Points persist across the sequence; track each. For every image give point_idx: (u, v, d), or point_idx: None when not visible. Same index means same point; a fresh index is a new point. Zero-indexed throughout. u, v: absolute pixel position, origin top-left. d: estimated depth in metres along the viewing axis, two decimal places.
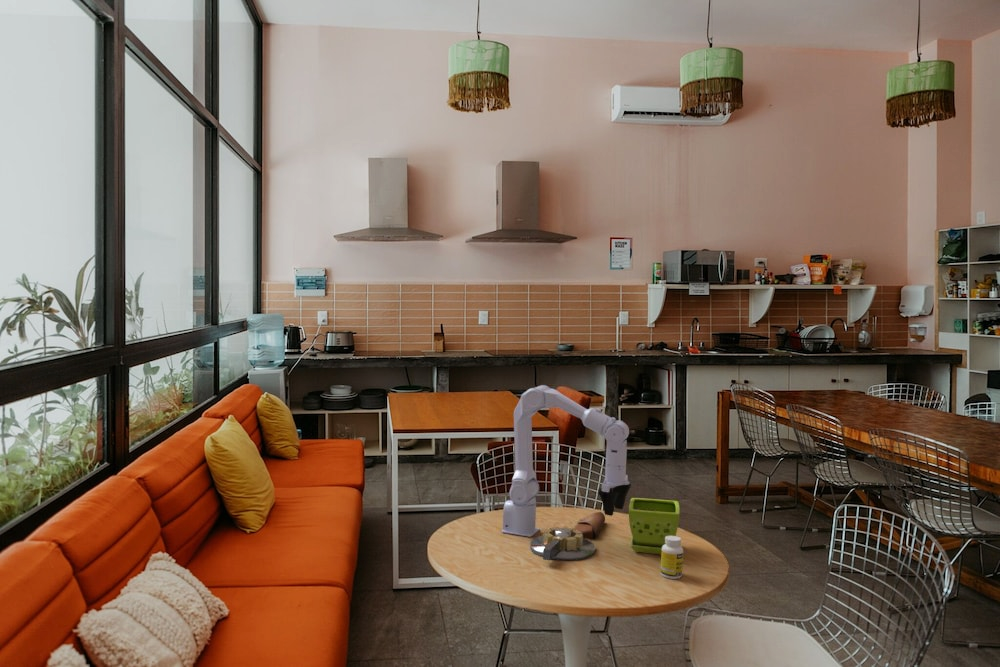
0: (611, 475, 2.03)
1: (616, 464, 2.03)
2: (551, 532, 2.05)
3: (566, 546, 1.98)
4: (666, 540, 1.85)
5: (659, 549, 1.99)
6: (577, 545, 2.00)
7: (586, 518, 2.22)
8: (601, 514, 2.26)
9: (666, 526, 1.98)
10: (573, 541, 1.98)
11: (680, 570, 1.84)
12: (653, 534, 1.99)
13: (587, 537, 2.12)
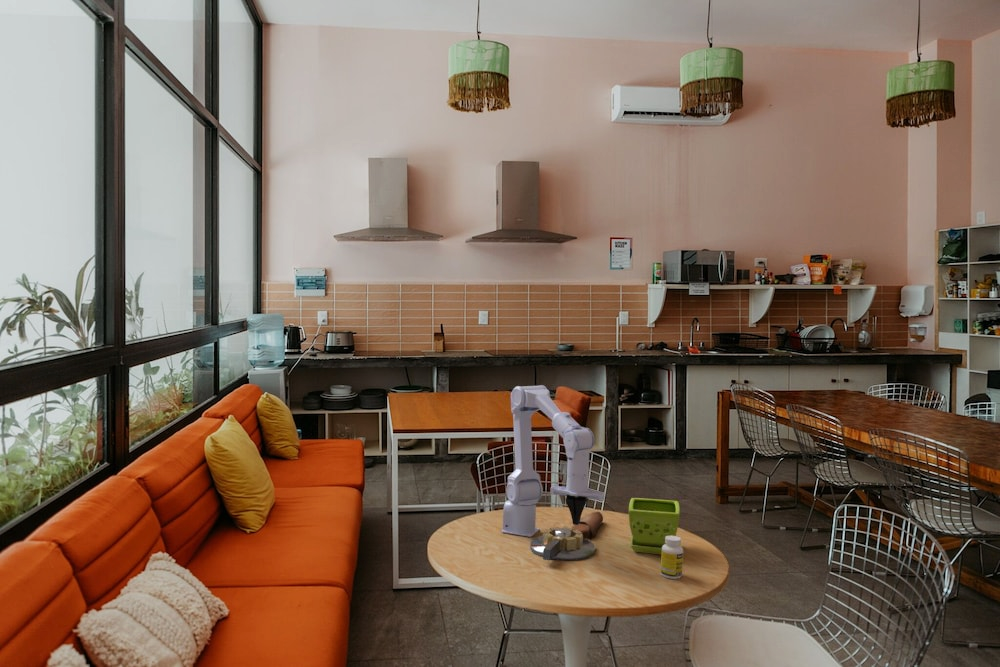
0: None
1: (571, 473, 1.92)
2: (551, 532, 2.05)
3: (566, 546, 1.98)
4: (666, 540, 1.85)
5: (659, 549, 1.99)
6: (577, 545, 2.00)
7: (584, 518, 2.22)
8: (599, 514, 2.27)
9: (666, 526, 1.98)
10: (573, 541, 1.98)
11: (680, 570, 1.84)
12: (653, 534, 1.99)
13: (584, 537, 2.13)
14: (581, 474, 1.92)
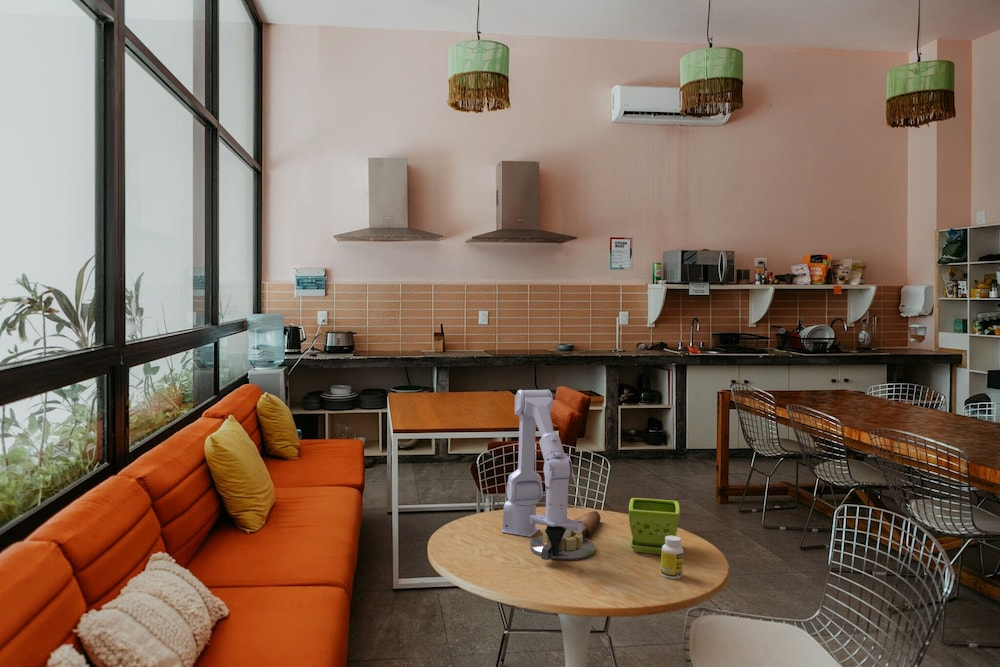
0: None
1: (548, 502, 1.90)
2: None
3: (565, 546, 1.98)
4: (666, 540, 1.85)
5: (659, 549, 1.99)
6: (577, 545, 2.00)
7: (581, 517, 2.23)
8: (596, 513, 2.27)
9: (666, 526, 1.98)
10: (573, 541, 1.98)
11: (680, 570, 1.84)
12: (653, 534, 1.99)
13: None
14: (557, 504, 1.89)
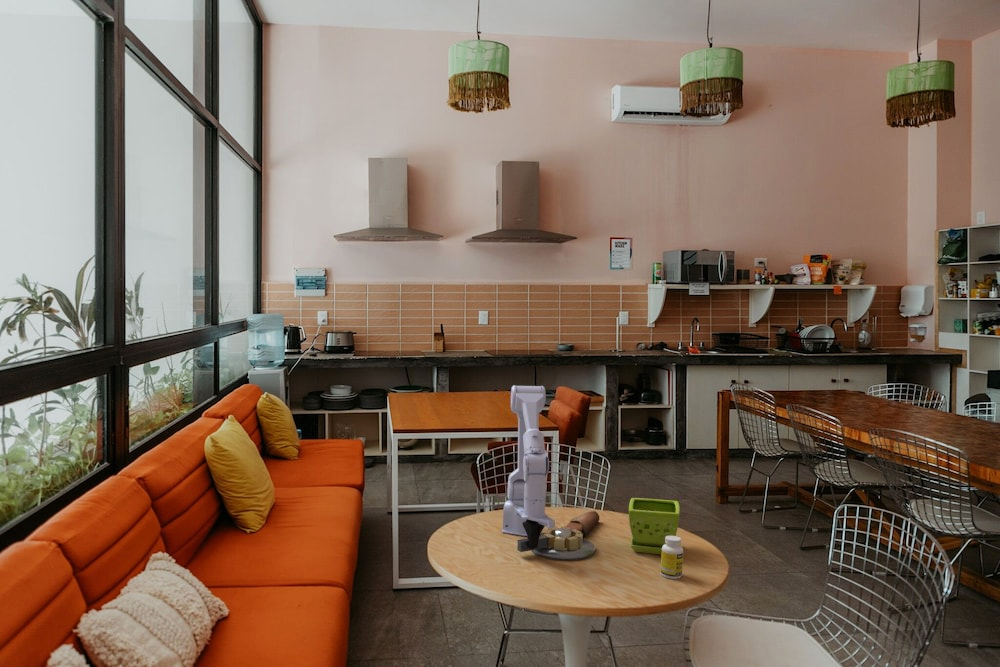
0: None
1: (525, 496, 1.94)
2: None
3: None
4: (666, 540, 1.85)
5: (659, 549, 1.99)
6: (568, 547, 1.98)
7: (579, 517, 2.23)
8: (595, 513, 2.27)
9: (666, 526, 1.98)
10: (561, 541, 1.98)
11: (680, 570, 1.84)
12: (653, 534, 1.99)
13: None
14: (532, 499, 1.93)
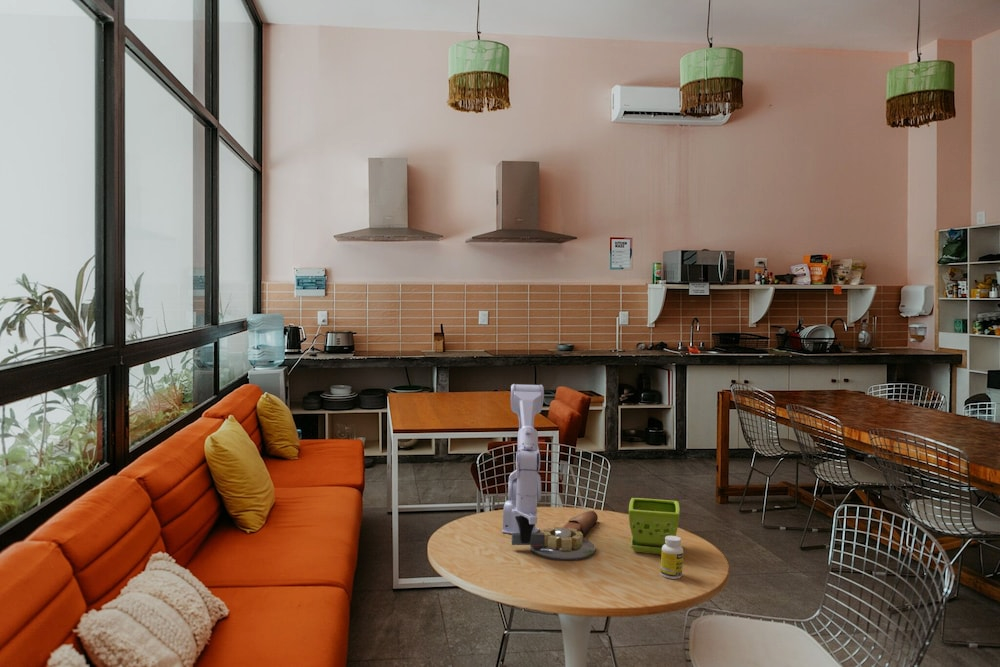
0: None
1: (517, 491, 1.99)
2: None
3: None
4: (666, 540, 1.85)
5: (659, 549, 1.99)
6: (561, 547, 1.98)
7: (577, 517, 2.23)
8: (593, 513, 2.27)
9: (666, 526, 1.98)
10: (553, 540, 1.98)
11: (680, 570, 1.84)
12: (653, 534, 1.99)
13: None
14: (524, 494, 1.97)
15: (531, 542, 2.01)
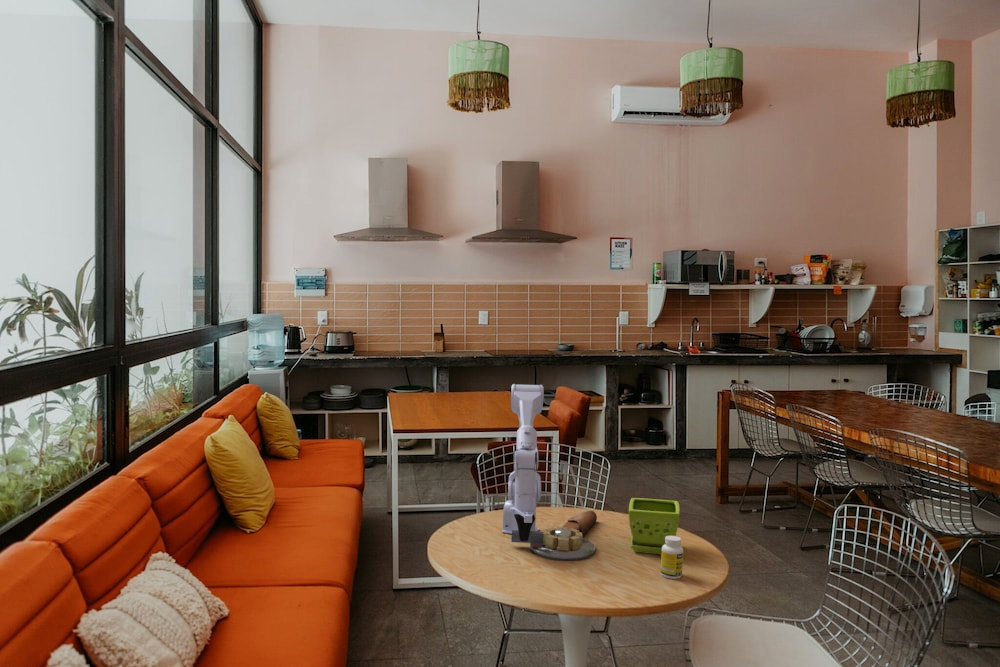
0: None
1: (515, 490, 2.00)
2: None
3: None
4: (666, 540, 1.85)
5: (659, 549, 1.99)
6: None
7: (576, 516, 2.23)
8: (592, 513, 2.27)
9: (666, 526, 1.98)
10: (550, 539, 1.99)
11: (680, 570, 1.84)
12: (653, 534, 1.99)
13: None
14: (522, 493, 1.98)
15: (530, 540, 2.03)
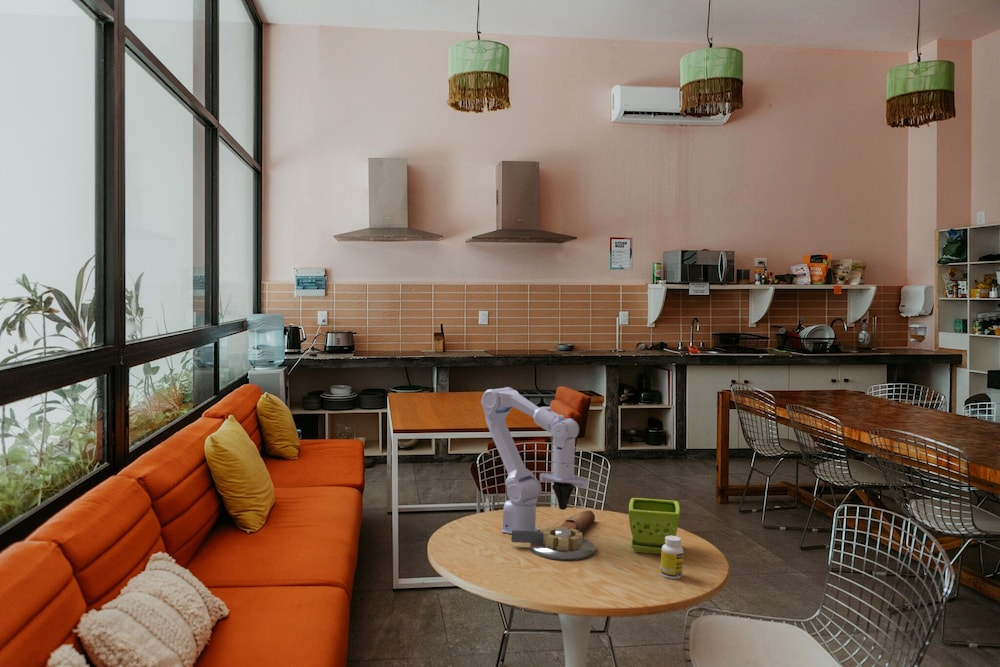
0: None
1: (561, 461, 2.04)
2: None
3: None
4: (666, 540, 1.85)
5: (659, 549, 1.99)
6: None
7: (574, 516, 2.24)
8: (590, 513, 2.28)
9: (666, 526, 1.98)
10: (550, 539, 1.99)
11: (680, 570, 1.84)
12: (653, 534, 1.99)
13: None
14: (570, 462, 2.05)
15: (530, 540, 2.03)
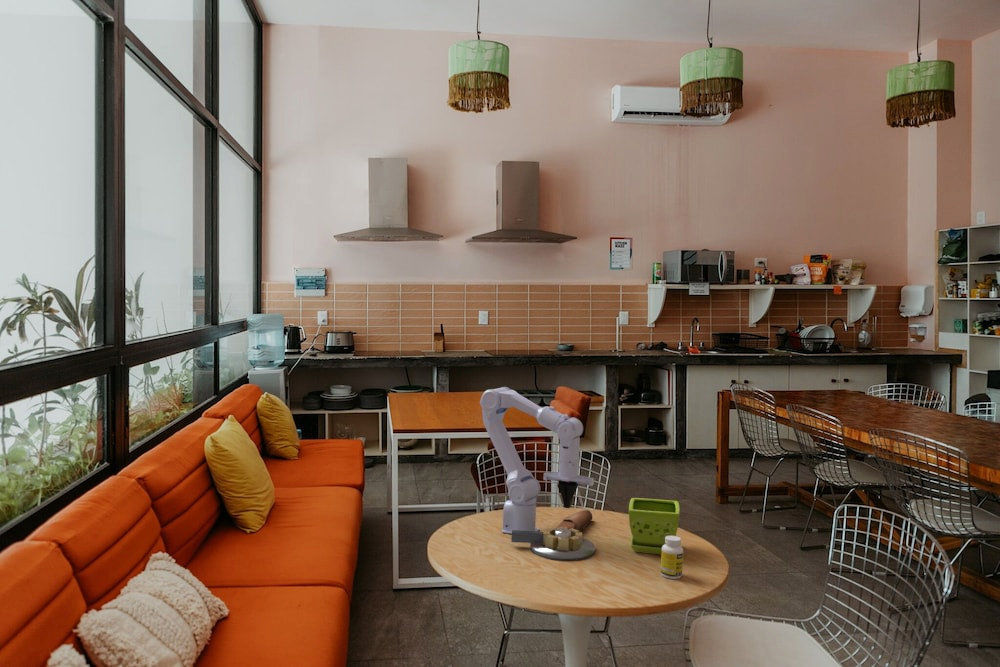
0: None
1: (567, 460, 2.06)
2: None
3: None
4: (666, 540, 1.85)
5: (659, 549, 1.99)
6: None
7: (571, 516, 2.24)
8: (588, 512, 2.28)
9: (666, 526, 1.98)
10: (550, 539, 1.99)
11: (680, 570, 1.84)
12: (653, 534, 1.99)
13: None
14: (576, 460, 2.07)
15: (530, 540, 2.03)
